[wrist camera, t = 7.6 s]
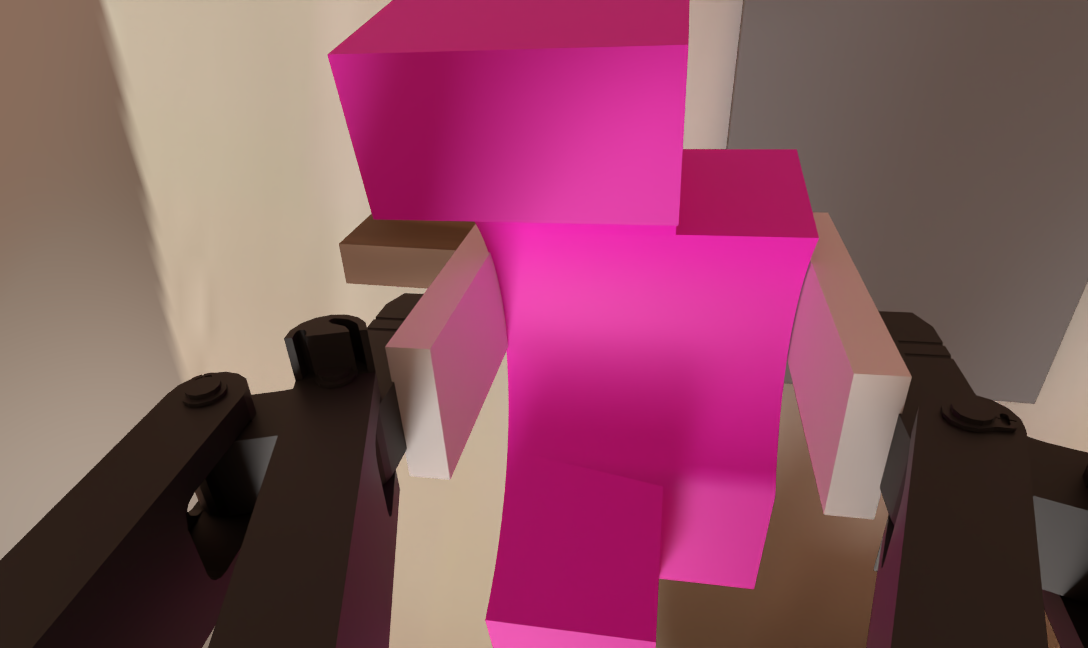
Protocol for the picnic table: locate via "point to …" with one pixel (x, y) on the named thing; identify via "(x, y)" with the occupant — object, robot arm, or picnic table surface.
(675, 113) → the toy block
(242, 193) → the picnic table surface
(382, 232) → the block
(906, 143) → the slate mat
